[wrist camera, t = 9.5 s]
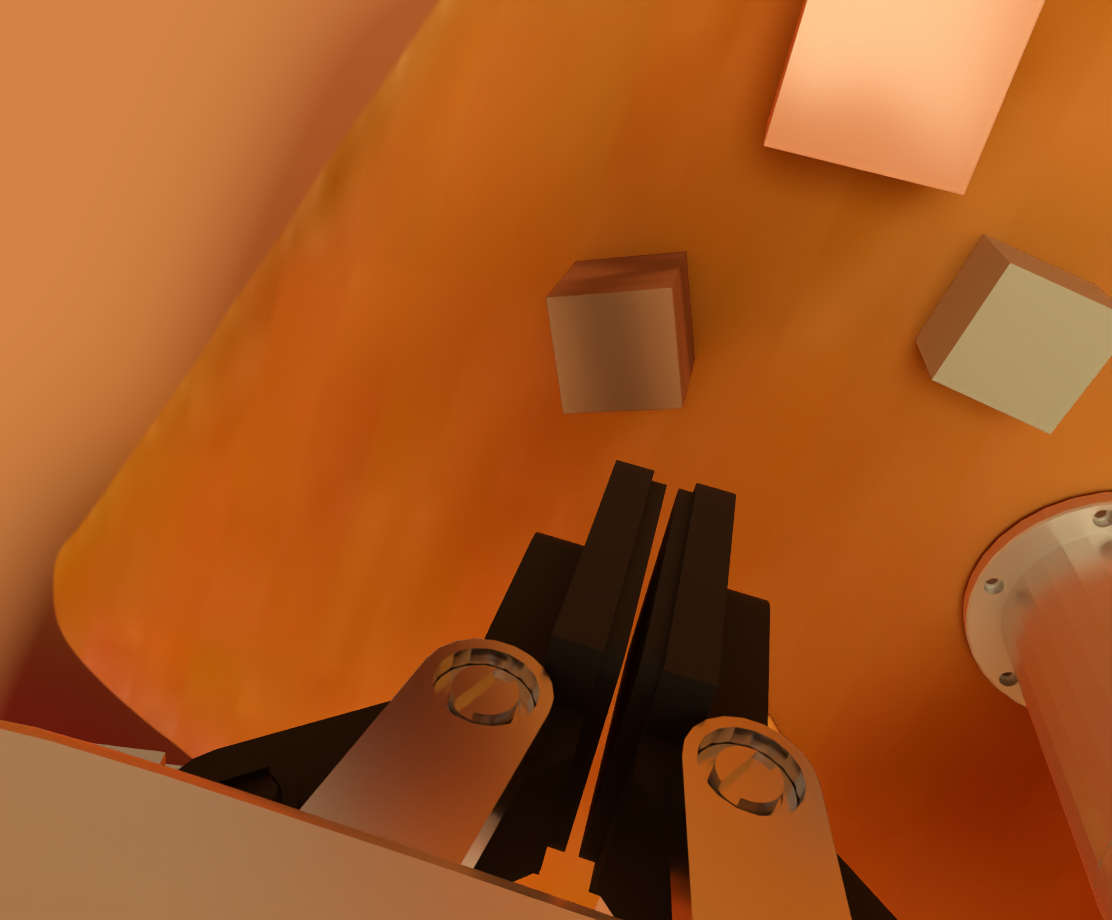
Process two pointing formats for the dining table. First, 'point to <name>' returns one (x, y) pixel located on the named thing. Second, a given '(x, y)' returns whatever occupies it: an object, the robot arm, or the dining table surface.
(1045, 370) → the greygreen block
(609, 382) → the walnut block
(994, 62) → the terracotta block
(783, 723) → the dining table surface
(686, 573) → the robot arm
